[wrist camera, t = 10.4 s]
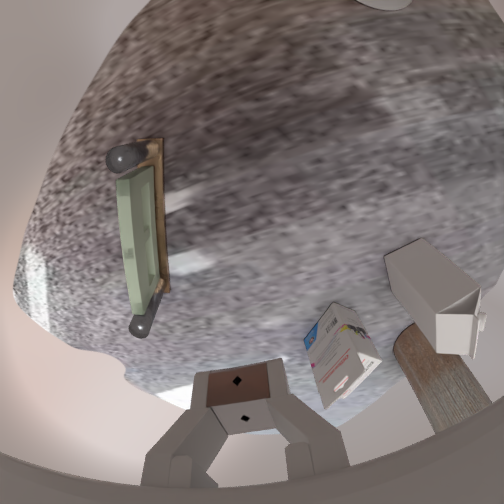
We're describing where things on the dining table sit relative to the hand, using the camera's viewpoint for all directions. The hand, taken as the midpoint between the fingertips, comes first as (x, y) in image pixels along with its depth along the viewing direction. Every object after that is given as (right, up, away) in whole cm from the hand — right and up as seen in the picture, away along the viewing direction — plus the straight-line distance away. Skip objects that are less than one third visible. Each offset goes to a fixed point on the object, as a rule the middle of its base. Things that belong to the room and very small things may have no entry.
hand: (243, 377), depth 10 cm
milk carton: (+24, +2, +32) cm, 40 cm away
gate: (-12, +8, +26) cm, 30 cm away
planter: (+31, -12, +39) cm, 52 cm away
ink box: (+13, -7, +36) cm, 39 cm away
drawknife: (-12, +9, +28) cm, 31 cm away
